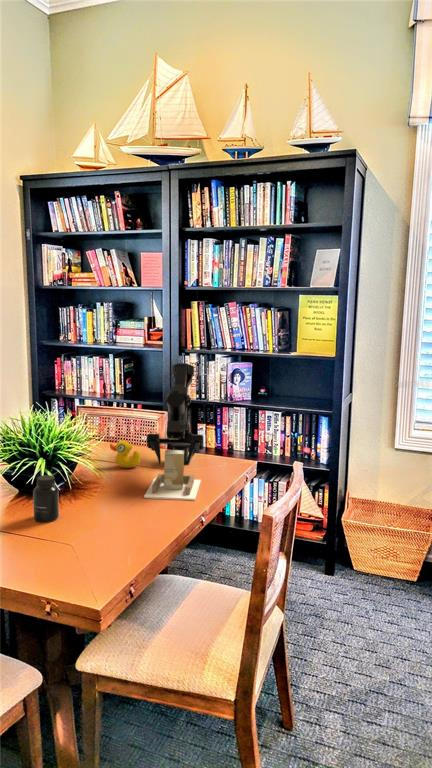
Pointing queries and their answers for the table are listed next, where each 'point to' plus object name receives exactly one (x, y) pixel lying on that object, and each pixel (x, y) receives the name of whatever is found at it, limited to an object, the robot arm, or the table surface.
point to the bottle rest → (186, 493)
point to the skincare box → (173, 469)
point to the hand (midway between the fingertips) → (173, 464)
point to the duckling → (125, 455)
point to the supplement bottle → (46, 499)
